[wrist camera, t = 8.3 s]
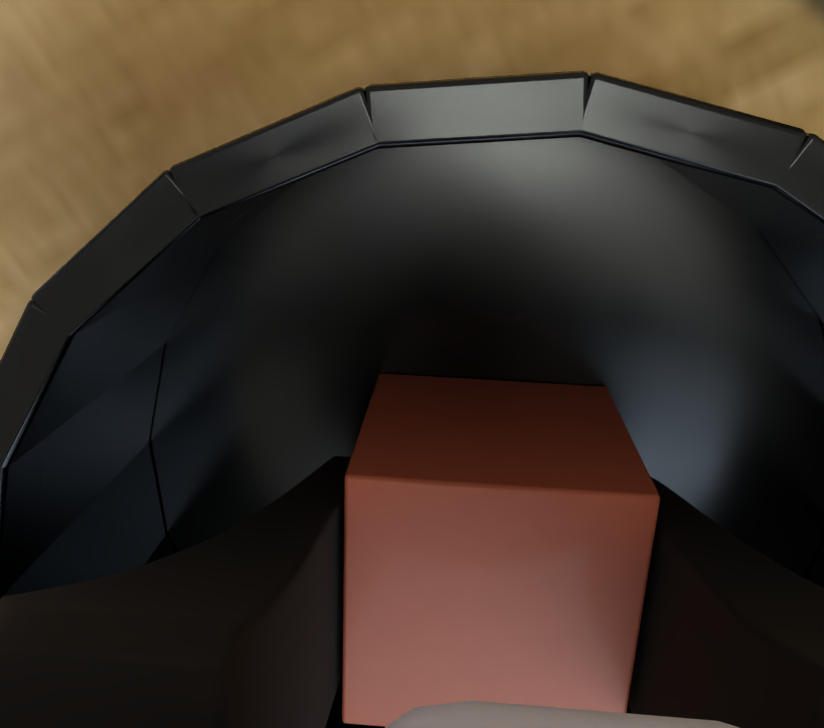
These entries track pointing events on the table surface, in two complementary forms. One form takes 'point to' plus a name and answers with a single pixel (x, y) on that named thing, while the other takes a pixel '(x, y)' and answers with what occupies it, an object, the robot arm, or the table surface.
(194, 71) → the table surface
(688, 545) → the robot arm
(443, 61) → the table surface
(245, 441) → the tin
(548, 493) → the block
